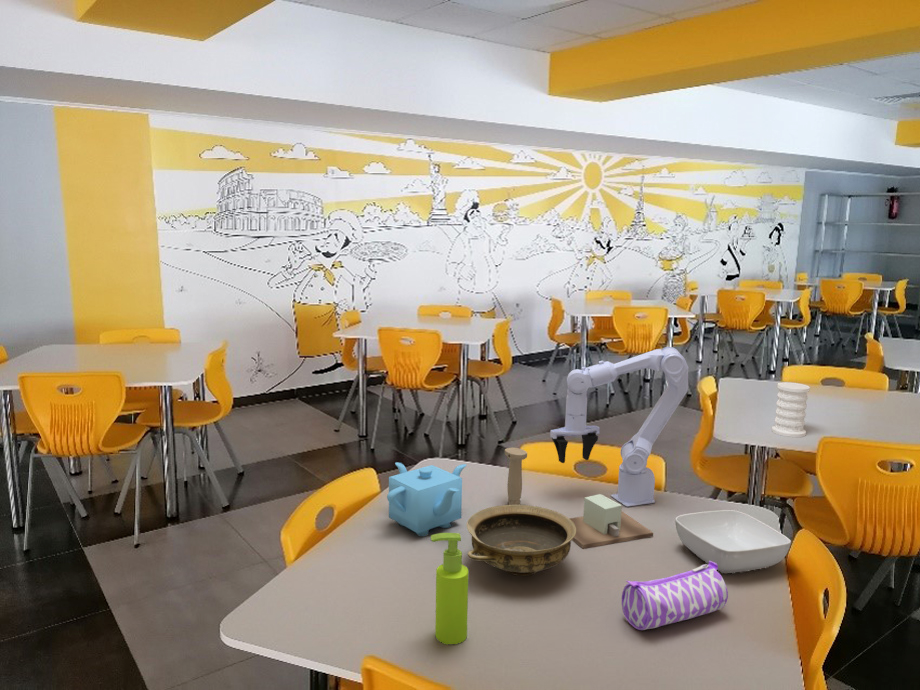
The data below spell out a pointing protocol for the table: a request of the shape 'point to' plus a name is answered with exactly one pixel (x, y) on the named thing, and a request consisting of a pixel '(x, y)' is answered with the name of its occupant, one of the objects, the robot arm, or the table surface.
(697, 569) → the pencil case
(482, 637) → the table surface
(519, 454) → the handle
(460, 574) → the soap dispenser
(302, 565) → the table surface
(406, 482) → the teakettle
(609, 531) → the cleat board
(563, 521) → the ceramic bowl
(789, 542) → the square bowl
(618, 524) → the cabinet block
